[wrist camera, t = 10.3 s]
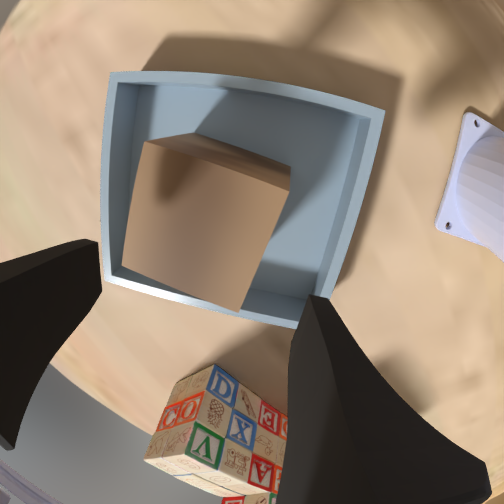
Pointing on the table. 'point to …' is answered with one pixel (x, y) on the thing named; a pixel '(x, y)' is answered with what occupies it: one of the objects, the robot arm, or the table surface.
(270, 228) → the walnut block
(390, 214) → the table surface
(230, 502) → the stack of blocks
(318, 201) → the tray
